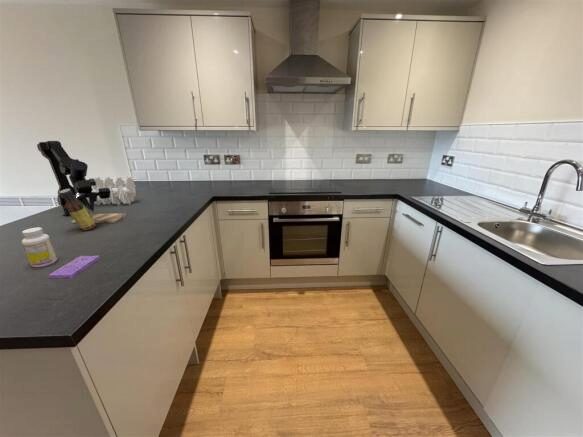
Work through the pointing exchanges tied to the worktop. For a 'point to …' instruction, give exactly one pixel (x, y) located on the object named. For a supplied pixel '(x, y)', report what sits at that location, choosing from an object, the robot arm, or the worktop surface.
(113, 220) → the beech cutting board
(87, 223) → the sauce bottle
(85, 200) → the robot arm
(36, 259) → the supplement bottle
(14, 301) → the worktop surface
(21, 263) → the worktop surface
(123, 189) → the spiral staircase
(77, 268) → the sponges
